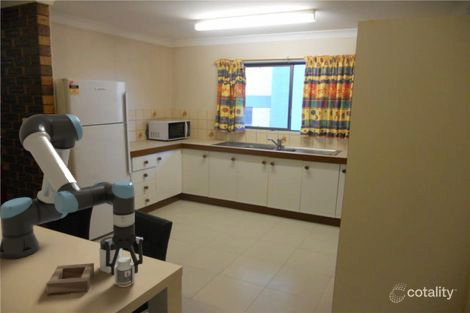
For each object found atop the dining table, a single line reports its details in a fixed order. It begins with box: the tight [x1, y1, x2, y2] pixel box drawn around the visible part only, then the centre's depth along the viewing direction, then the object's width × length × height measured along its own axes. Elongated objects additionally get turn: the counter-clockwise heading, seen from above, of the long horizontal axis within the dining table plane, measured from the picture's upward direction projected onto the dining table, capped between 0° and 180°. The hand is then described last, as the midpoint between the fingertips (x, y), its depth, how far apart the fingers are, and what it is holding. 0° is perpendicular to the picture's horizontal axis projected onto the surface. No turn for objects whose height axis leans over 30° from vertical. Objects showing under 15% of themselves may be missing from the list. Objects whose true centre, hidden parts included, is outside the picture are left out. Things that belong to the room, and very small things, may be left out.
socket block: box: [46, 262, 95, 297], centre depth 121 cm, size 13×13×4 cm
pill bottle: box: [116, 256, 134, 288], centre depth 122 cm, size 6×6×10 cm
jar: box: [98, 236, 123, 274], centre depth 133 cm, size 9×8×12 cm
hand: (124, 281), depth 123 cm, fingers closed on pill bottle, 6 cm apart
